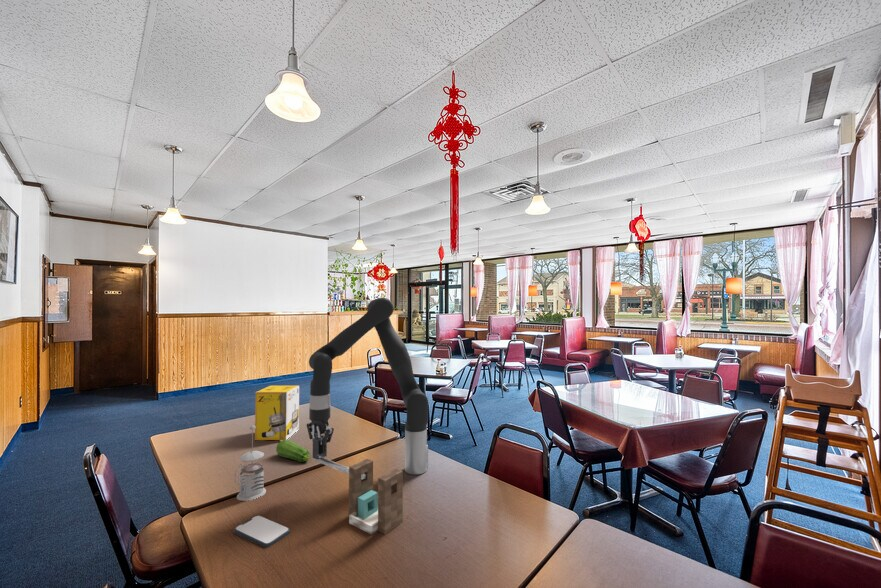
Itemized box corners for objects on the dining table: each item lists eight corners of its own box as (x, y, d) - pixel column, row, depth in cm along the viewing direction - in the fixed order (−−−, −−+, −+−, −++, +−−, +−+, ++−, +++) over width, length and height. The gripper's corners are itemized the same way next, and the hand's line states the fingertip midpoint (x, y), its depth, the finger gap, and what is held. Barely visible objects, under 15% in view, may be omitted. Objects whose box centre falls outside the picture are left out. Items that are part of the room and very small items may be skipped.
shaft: (312, 463, 135) (312, 438, 135) (321, 459, 138) (321, 435, 138) (359, 482, 120) (359, 454, 120) (368, 477, 123) (368, 450, 123)
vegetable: (283, 435, 172) (312, 443, 162) (288, 446, 174) (317, 455, 164) (270, 446, 166) (299, 456, 156) (276, 458, 169) (305, 468, 159)
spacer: (357, 516, 118) (357, 497, 119) (371, 507, 123) (371, 489, 123) (364, 519, 117) (364, 500, 117) (377, 510, 122) (377, 492, 122)
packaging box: (286, 441, 187) (286, 392, 187) (254, 441, 187) (255, 392, 188) (298, 430, 203) (299, 385, 204) (270, 430, 203) (270, 385, 204)
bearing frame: (342, 519, 117) (343, 469, 118) (372, 502, 128) (372, 456, 129) (379, 538, 108) (379, 484, 108) (407, 518, 118) (407, 468, 119)
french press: (272, 489, 137) (273, 422, 138) (246, 505, 126) (248, 432, 127) (252, 485, 140) (253, 420, 141) (225, 500, 129) (226, 429, 130)
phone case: (292, 533, 111) (257, 518, 119) (292, 528, 111) (258, 513, 119) (266, 551, 104) (231, 534, 111) (266, 545, 104) (231, 528, 111)
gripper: (340, 406, 135) (340, 453, 134) (317, 401, 143) (316, 445, 143) (323, 411, 129) (322, 460, 128) (300, 405, 137) (299, 451, 137)
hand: (319, 452), depth 136 cm, fingers closed on shaft, 3 cm apart
